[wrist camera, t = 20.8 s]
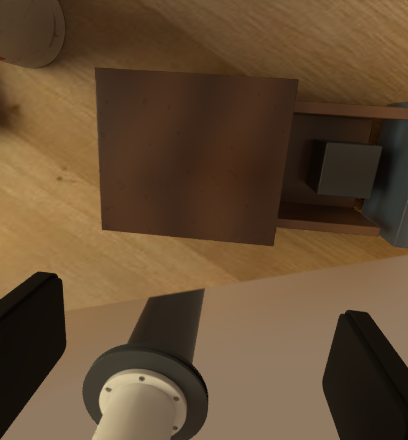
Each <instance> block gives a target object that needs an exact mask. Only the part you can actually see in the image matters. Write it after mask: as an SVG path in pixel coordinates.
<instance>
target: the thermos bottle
mask: <svg viewBox="0 0 408 440" xmlns="http://www.w3.org/2000/svg"><path fill="white" fill-rule="evenodd" d="M64 38H65V20H64V16H63V12H62V9H61V7H60V4H59V2H58V0H0V61H2V62H6V63H10V64H14V65H18V66H22V67H26V68H38V67H42V66H45V65H47V64H49V63H50V62H51V61H53V60H54V59H55V58H56V56H57V55H58V54H59V52H60V50H61V48H62V46H63V42H64Z"/></svg>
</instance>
